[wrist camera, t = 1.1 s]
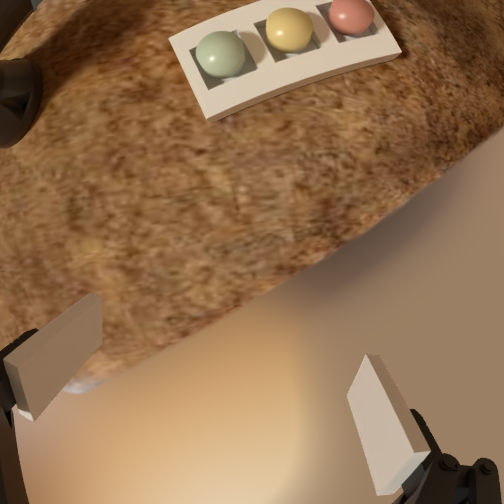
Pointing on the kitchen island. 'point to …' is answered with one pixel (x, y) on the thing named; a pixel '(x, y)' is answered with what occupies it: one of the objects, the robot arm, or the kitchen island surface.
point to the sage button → (221, 54)
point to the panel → (277, 55)
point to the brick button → (350, 16)
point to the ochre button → (288, 30)
